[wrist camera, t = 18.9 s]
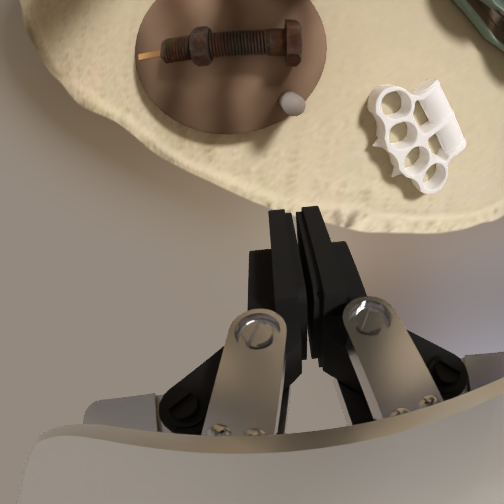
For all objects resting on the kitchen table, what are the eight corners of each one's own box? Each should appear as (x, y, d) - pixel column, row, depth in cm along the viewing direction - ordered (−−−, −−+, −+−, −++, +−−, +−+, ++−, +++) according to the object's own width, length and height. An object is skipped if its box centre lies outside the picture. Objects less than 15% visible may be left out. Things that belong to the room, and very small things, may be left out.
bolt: (173, 47, 28) (296, 40, 27) (169, 79, 28) (298, 72, 27) (158, 22, 22) (300, 12, 21) (151, 57, 23) (304, 46, 22)
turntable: (147, 138, 35) (129, 152, 30) (137, -16, 21) (117, -27, 16) (320, 133, 35) (332, 146, 29) (322, -27, 21) (335, -43, 16)
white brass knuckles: (465, 154, 35) (402, 200, 41) (418, 58, 28) (343, 109, 34) (476, 162, 33) (411, 211, 39) (430, 59, 25) (350, 113, 31)
